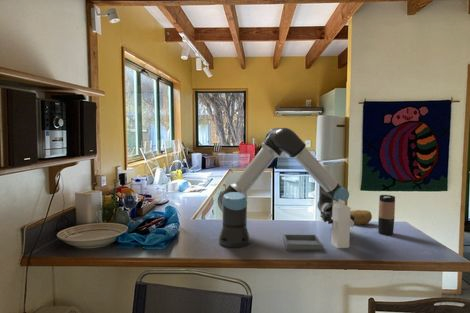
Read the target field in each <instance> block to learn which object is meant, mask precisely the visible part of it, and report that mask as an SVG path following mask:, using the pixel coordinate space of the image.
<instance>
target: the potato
mask: <svg viewBox="0 0 470 313" xmlns="http://www.w3.org/2000/svg"><path fill="white" fill-rule="evenodd" d="M371 212H372V211H370V210H362V209H355V210H350V215H351V216H353V217H354V224H356V225H365V224H369V223H370V222H371V221H372V219H373V215H372V213H371Z"/></svg>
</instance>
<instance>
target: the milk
mask: <svg viewBox="0 0 470 313" xmlns="http://www.w3.org/2000/svg"><path fill="white" fill-rule="evenodd" d="M333 204H334V205H333V207H332V217H333V218H334V219H335V220H336V221H337V227H335V226H334V225H333V224H332V223H331V240H330V242H331V243H330V244H331V245H332V246H333V247H335V248H336V249H349V248H350V234H351V226H350V211H352V210H351V207H350V206H348V205H346V201H343V200H340V199H338V202H337V201H336V202H335V203H333Z"/></svg>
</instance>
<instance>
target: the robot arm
mask: <svg viewBox="0 0 470 313" xmlns="http://www.w3.org/2000/svg"><path fill="white" fill-rule="evenodd" d="M283 152H284V153H285V154H287V155H288V156H289V157H290V158H291V159H295V160H296V161H297V163H298V164H299V165H300V166H301V167H302V168H303V169H304V170H305V171H306V172H307V173H308V174H309V176H311V177H312V178H313V180H314V181H315V182H316V183H317V184H318V190H319V191H318V192H319V194H318V196H319V197H318V201H317V205H316V206H317V208H318V211H319V212H320V218H322V220H323V221H324V223H327V222H328V223H327V224H328V225H332V224H333V225H334V226H335V227H337V221H336V220H335V219H334V218H333V217H332V207H333V205H334V204H335V203H334V201H335V202H336V203H337V202H338V199H340V200H343V201H345V202H347V201H348V200H349V197H350V192H349V190H348V189H346V188H345V187H343V186H342V185H341V184H340V183H339V182H338V181H337V180H336V179H335V178H334V177H333V176H332V175H331V174H330V173H329V171H327V169H326V168H325V167H324V166H323V164H321V163H320V162H319V161H318V160H317V158H316V157H315V156H314V155H313V154H312V153H311V152H310V151H309V149H307V145H306V143H305V142H304V141H303V140H302V139H301V138H300V136H299V135H298V134H297V133H296V132H295V131H294V130H292V129H290V128H288V127H274V128H272V129H270V130H269V131H267V132H266V134H265V137H264V140H263V141H262V143H261V148H260V150H259V151H258V152H257V154H256V155H255V156H254V157H253V158H252V160H251V161H250V163H249V164H248V165H247V167H245V169H244V170H243V171H242V173H241V174H240V175H239V177H238V178H237V180H235V182H234V183H230V184H229V185H228V186H227V187H226V189H224V190H223V191H221V192H220V193H219V194H218V197H217V206H218V208H219V210H220V211H221V212H222V226H221V227H222V228H221V231H220V232H219V237H218V244H219V245H220V246H223V247H225V248H226V247H227V248H242V247H246V246H249V245H250V244H251V236H250V233H249V230H248V226H247V225H248V223H247V221H248V216H247V214H248V213H247V212H248V210H247V209H248V207H247V206H248V200H247V199H248V193H249V192H250V190H251V189H253V187H254V185H255V184H256V183H257V181H258V180H259V179H260V178H261V176H263V173H265V171H266V170H267V168H268V167H269V166H270V165H271V163H272V162H273V161H274V159H276V158H279V157H280V156H281V155H282V154H283ZM350 228H354V217H353V216H351V215H350Z"/></svg>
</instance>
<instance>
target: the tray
mask: <svg viewBox="0 0 470 313" xmlns="http://www.w3.org/2000/svg"><path fill="white" fill-rule="evenodd" d="M282 241H283V243H284V246H285V248H286V249H285V250H286V251H288V252H289V251H290V252H291V251H292V252H293V251H294V252H299V251H300V252H323V249H324V248H323V247H324V246H323V243H322V241H321V240H320V239H319V237H318V236H317V234H300V233H299V234H297V233H296V234H294V233H293V234H292V233H291V234H289V233H287V234H286V233H284V234H282Z"/></svg>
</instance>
